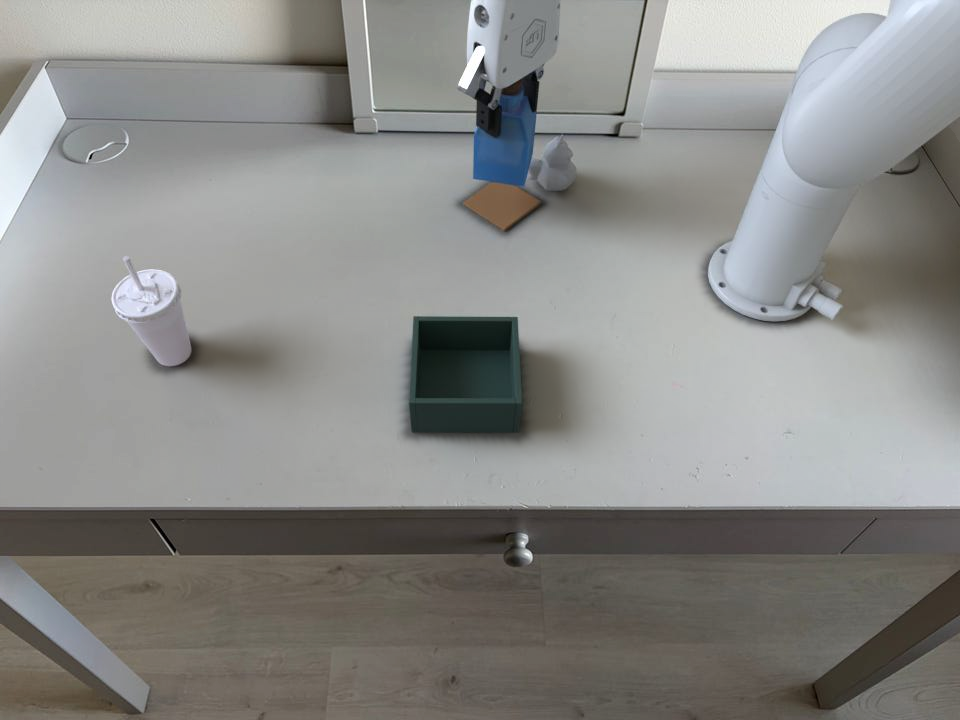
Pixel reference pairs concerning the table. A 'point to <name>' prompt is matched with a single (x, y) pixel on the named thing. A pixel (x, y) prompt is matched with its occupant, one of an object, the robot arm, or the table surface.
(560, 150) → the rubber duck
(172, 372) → the table surface
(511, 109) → the perfume bottle
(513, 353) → the bin
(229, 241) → the table surface
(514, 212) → the mat
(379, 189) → the table surface
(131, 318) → the smoothie
